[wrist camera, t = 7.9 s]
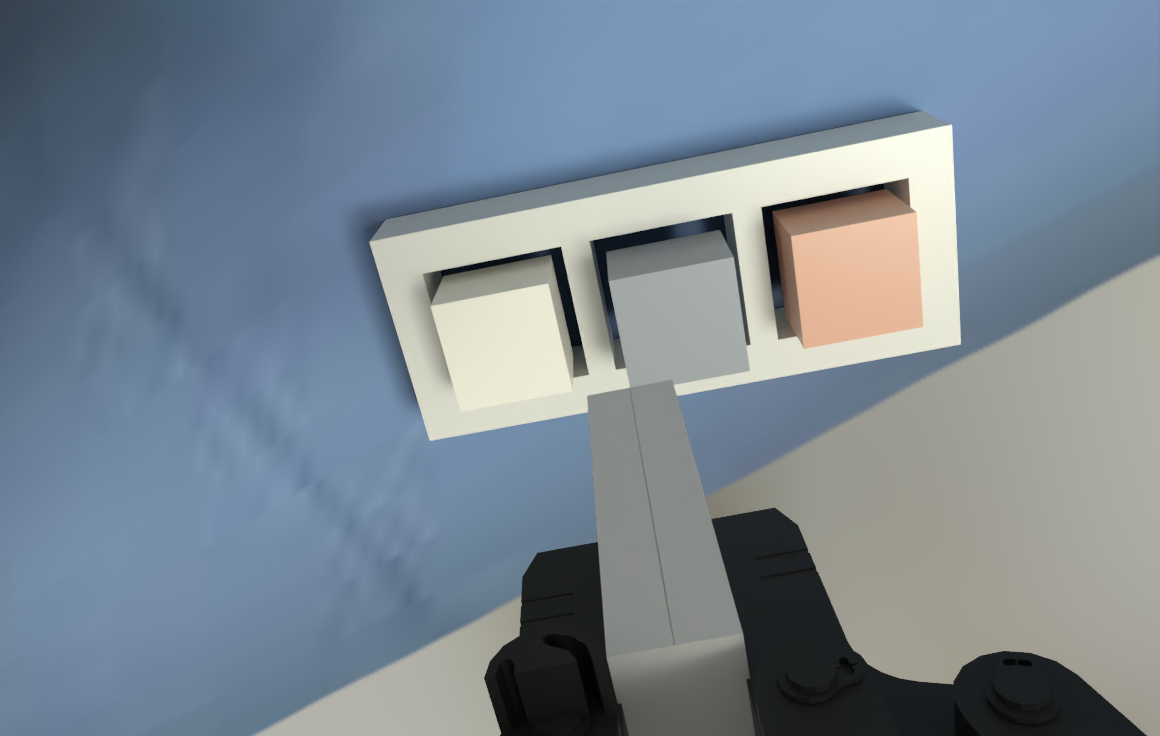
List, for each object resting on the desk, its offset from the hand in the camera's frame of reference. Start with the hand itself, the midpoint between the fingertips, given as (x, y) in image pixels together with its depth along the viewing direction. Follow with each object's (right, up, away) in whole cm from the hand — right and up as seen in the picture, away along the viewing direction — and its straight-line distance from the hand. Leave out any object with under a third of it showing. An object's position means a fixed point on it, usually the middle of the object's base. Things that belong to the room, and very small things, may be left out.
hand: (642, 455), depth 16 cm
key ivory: (-4, +4, +18) cm, 19 cm away
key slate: (+2, +4, +17) cm, 17 cm away
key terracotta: (+8, +6, +17) cm, 20 cm away
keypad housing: (+2, +5, +19) cm, 20 cm away
